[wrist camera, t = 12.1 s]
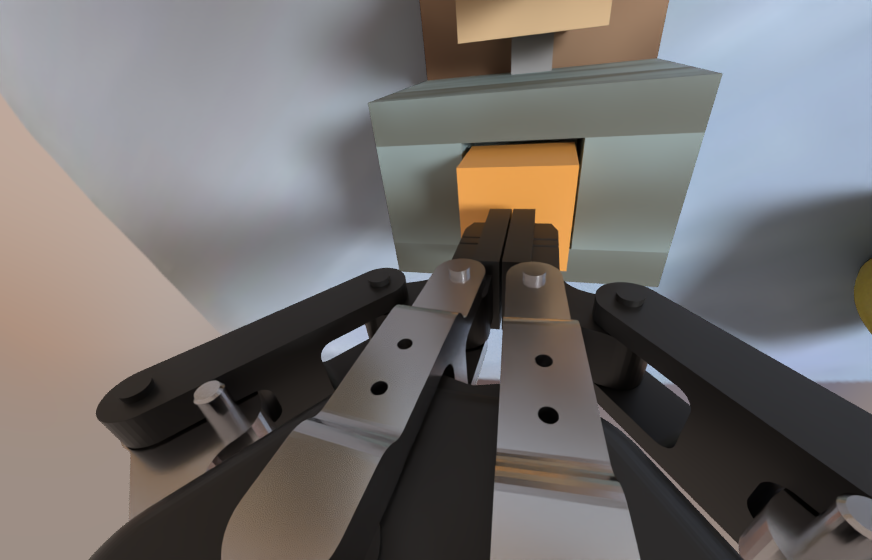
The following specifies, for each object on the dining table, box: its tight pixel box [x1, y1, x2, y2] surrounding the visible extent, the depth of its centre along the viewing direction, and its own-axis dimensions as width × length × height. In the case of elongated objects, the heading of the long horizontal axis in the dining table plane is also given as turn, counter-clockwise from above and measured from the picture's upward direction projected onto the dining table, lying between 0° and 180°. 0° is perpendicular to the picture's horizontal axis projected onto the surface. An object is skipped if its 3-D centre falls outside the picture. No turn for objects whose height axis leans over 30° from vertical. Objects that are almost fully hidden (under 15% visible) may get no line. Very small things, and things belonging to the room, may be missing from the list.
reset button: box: [456, 142, 579, 271], centre depth 14 cm, size 4×4×3 cm
